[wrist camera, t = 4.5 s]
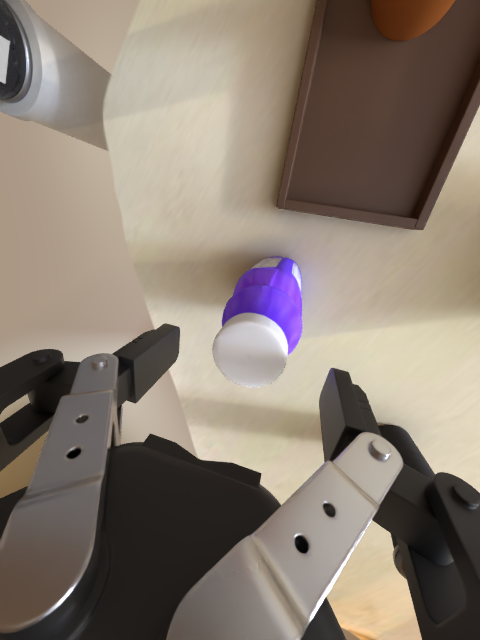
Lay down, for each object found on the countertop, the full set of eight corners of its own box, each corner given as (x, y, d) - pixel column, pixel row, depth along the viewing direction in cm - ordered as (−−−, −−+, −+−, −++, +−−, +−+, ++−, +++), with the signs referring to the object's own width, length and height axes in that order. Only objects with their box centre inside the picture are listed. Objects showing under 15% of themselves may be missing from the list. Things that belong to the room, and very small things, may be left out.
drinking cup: (383, 465, 34) (478, 736, 16) (347, 432, 33) (403, 676, 15) (435, 444, 30) (629, 758, 12) (396, 407, 30) (541, 682, 12)
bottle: (253, 254, 27) (187, 292, 11) (302, 252, 26) (305, 292, 10) (255, 312, 30) (205, 407, 14) (300, 313, 28) (300, 419, 13)
